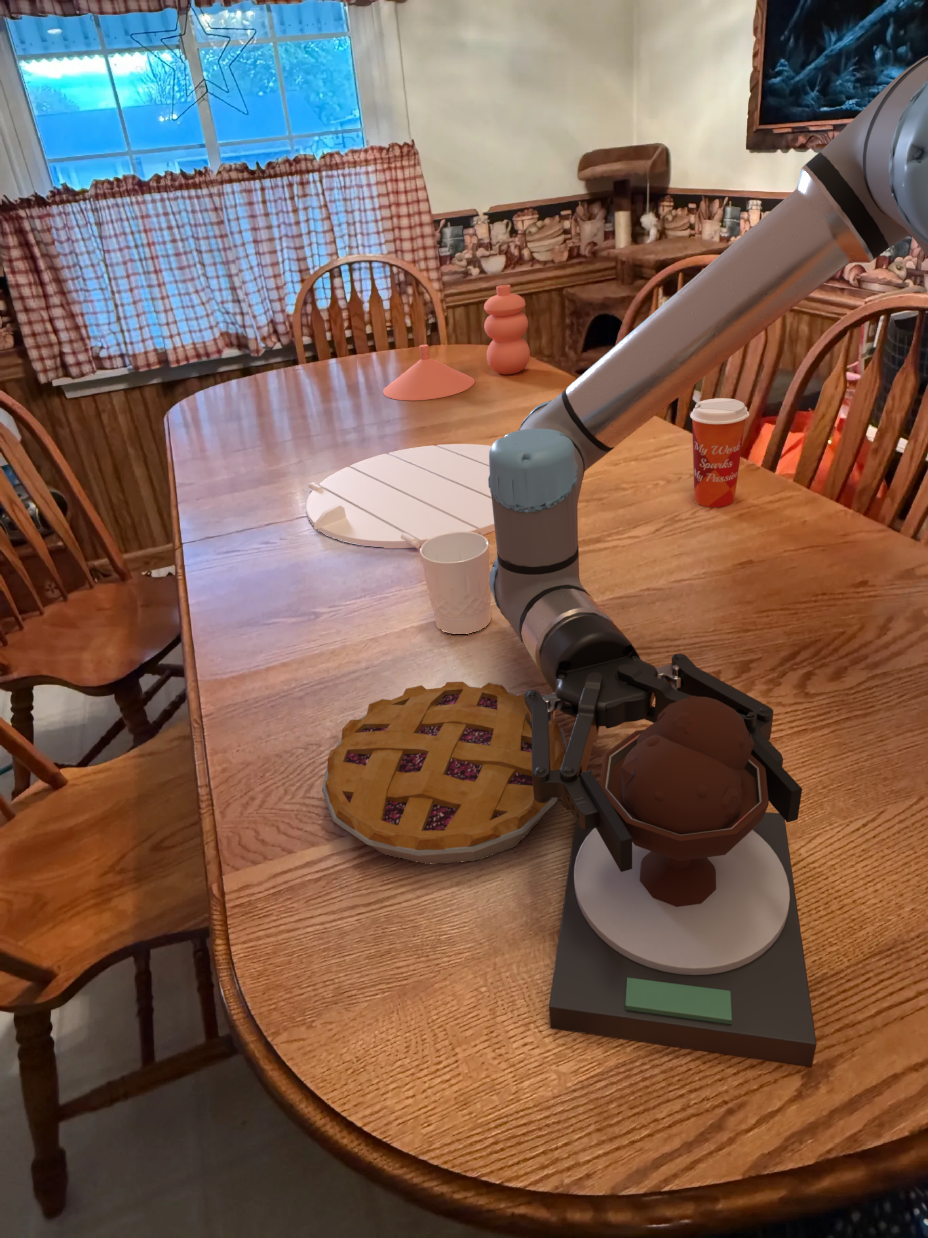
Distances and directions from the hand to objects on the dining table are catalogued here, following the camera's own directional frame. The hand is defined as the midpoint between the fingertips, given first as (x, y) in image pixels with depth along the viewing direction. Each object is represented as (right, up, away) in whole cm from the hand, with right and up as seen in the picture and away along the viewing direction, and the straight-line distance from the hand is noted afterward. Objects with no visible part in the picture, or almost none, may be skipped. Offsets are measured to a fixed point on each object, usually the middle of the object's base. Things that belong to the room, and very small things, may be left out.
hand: (712, 830), depth 51 cm
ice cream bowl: (0, -5, +8) cm, 10 cm away
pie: (-17, -2, +23) cm, 29 cm away
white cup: (-16, +13, +47) cm, 51 cm away
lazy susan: (-22, +33, +82) cm, 91 cm away
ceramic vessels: (-17, +68, +137) cm, 154 cm away
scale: (0, -9, +8) cm, 12 cm away
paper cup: (+21, +31, +69) cm, 78 cm away
